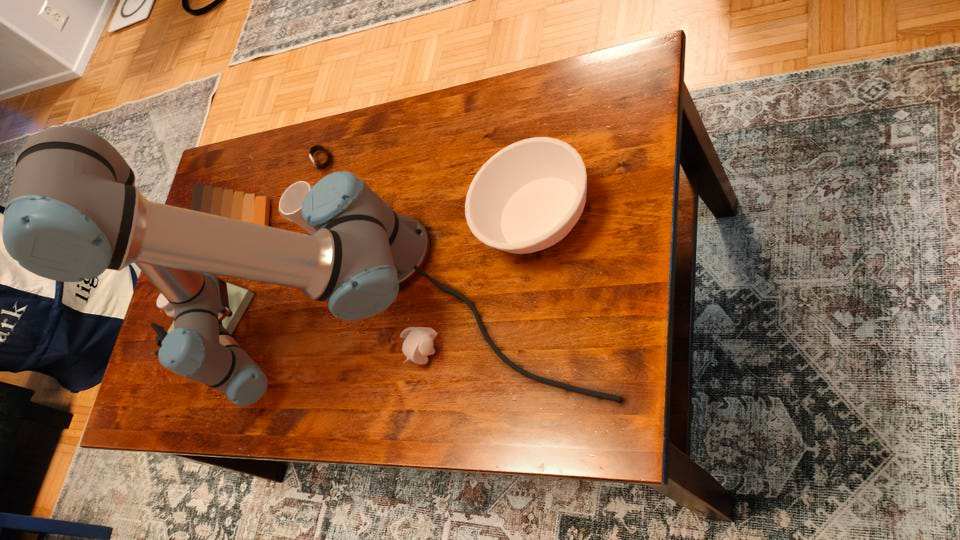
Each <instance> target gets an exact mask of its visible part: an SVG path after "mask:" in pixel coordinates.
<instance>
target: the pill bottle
mask: <svg viewBox="0 0 960 540" xmlns="http://www.w3.org/2000/svg"><path fill="white" fill-rule="evenodd" d="M156 307H157V308H158V309H160V310H162V311H164V313H165V314H166V316H167V317H169V318H171V319H174V308H173V306H172V305H171V304H170V303H169V301H168V300H167V299H166V298H165V297H164V295H163V294H162V293H161V292H159V294H158V296H157V298H156Z"/></svg>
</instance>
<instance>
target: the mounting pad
mask: <svg viewBox="0 0 960 540" xmlns="http://www.w3.org/2000/svg"><path fill="white" fill-rule="evenodd" d="M225 282H226V283H227V291H228V299H229V308H230V310H231V311H232V313H233V314H232V316H231V317H228V316H226V317H225V318H224V320H223V321H222V325H223V327H224V328H225V329H226V330H227V331H228V332H229V334H230V335H231V336H232V335H233V332H234V331H235V329H236V328H237V325H238V324H239V322H240V321H241V319H242V317H243V315H244V313H245V312H246V310H247V309H248V306H249V304H250V302H251V301H252V300H253V298H254V296H255V293H254V292H252V291H250V290H249V289H246V288H243V287H241V286H238V285H236V284H233V283H230V282H227V281H225ZM172 330H174V320H173V321H172V323H171V324H170V326H169V327H168V329H167V330H166V332H167V333H168V334H169V333H170V332H171V331H172Z"/></svg>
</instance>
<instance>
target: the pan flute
mask: <svg viewBox="0 0 960 540" xmlns="http://www.w3.org/2000/svg"><path fill="white" fill-rule="evenodd" d="M270 208H271V201H270V200H269V198H268V196H266V195H256V193H246V192H245V191H242V190H241V191H239V190H238V191H236V190H235V189H233V188H231V189H229V188H228V189H227V188H225V187H223V186H215V185H213V184H205V183H204V182H200V183H199V182H194V184H193V188H192V194H191V201H190V209H189V210H194V211H199V212H203V213H208V214H213V215H218V216H222V217H227V218H232V219H236V220H241V221H246V222H251V223H255V224H260V225H265V226H269V227H270V210H271V209H270Z"/></svg>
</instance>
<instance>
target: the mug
mask: <svg viewBox="0 0 960 540" xmlns="http://www.w3.org/2000/svg"><path fill="white" fill-rule="evenodd" d="M312 187H313V186H312V185H311V184H310V183H309V182H307V181H305V180H298V181H296V182H293V183H292V184H290V185H289V186H288V187H287V188H286V189H285V190H284V192H283V193H282V195H281V196H280V199H279V202H278V214H279V215H280V216H281V217H282V218H283V219H285V220H287V221H289V222H291V223H294V224H296V225H297V226H298V227H299V228H301V229H302V230H304V231H305V232H307V233H308V235H313V234H314V233H316V232H317V231H316V230H315V228H314V227H312V226H310V225H308V224H307V222H306V221H305V220H304V219H303V216H302V204H303V201H304V199H305V197H306V195H307V194H308V192H309V191H310V190H311V188H312Z"/></svg>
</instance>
